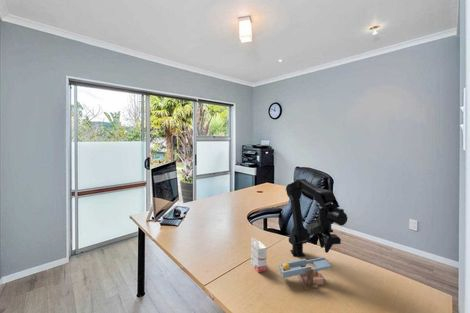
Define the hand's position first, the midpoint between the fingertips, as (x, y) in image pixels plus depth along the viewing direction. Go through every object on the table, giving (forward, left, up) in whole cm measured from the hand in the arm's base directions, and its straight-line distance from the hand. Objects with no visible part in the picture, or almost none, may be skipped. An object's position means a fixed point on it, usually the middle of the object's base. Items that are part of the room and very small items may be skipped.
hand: (324, 250), depth 105 cm
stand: (+4, -10, -12) cm, 16 cm away
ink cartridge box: (-8, -30, -12) cm, 33 cm away
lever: (+4, -11, -6) cm, 13 cm away
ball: (+4, -19, -5) cm, 21 cm away
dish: (+4, -8, -12) cm, 15 cm away
